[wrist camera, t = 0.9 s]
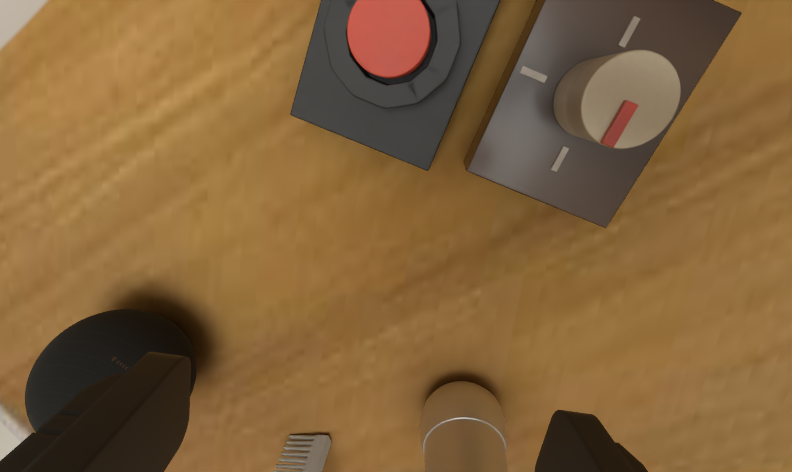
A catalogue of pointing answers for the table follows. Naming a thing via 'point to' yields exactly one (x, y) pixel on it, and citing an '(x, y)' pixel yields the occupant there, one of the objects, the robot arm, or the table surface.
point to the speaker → (98, 356)
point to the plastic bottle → (463, 430)
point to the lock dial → (618, 98)
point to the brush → (314, 457)
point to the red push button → (389, 36)
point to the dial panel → (543, 70)
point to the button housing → (391, 81)
